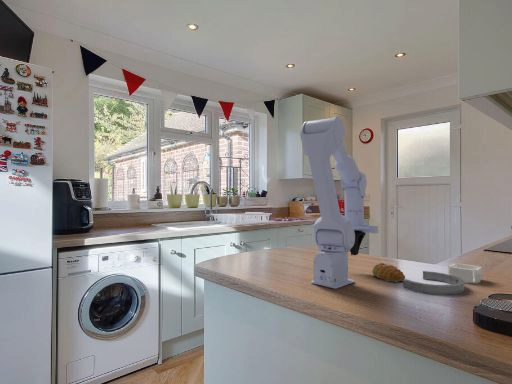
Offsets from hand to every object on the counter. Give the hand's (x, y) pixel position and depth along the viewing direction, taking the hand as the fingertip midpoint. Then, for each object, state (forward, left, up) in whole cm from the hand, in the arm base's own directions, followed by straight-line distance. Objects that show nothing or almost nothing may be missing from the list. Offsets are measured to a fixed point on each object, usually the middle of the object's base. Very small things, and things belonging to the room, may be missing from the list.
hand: (354, 254), depth 100 cm
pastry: (0, -11, -6) cm, 12 cm away
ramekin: (+13, -27, -5) cm, 30 cm away
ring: (0, -23, -5) cm, 24 cm away
